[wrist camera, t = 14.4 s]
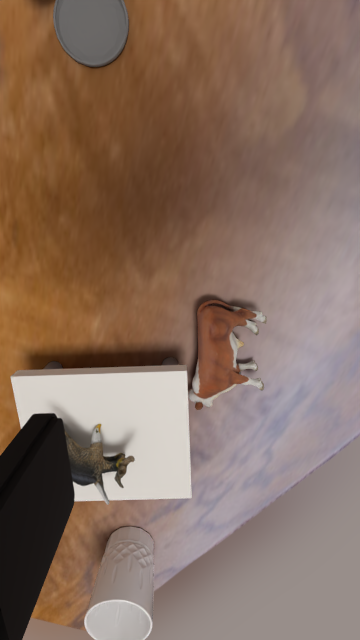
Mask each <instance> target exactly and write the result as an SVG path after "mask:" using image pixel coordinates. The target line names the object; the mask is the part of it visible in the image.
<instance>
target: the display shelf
mask: <svg viewBox="0 0 360 640" xmlns="http://www.w3.org/2000/svg"><path fill="white" fill-rule="evenodd" d="M11 381H12V386H13V391H14V396H15V401H16V406H17V411H18V416H19V421H20V426H21V429H22V427H23V426H24V425H25V424H26V422H27V421H28V420H29V418H30V417H31V416H32V415H33V414H39V413H55V414H56V416H57V418H61V419H62V420H63V424H64V429H65V430H66V432H67V433H68V435H69V436H70V437H71V438H72V439H73V440H74V441H75V442H76V443H77V444H78V445H79V446H81V447H84V448H88V447H90V444H91V439H92V434H93V432H94V430H95V428H96V427H97V425H98V424H101V428H100V434H101V441H102V444H103V456H105V457H107V456H109V457H111V456H115V455H117V454H119V453H123V454H125V458H127V457H128V456H133V457H134V458H135V461H134V462H130V463H129V464H128V466H127V471H126V474H125V475H124V476H123V477H122V478H121V483H122V485H123V487H124V488H121V487H120V486H119V485H118V484H117V482H116V481H115V479H114V478H115V475H116V473H117V472H107V473H102V477H103V485H104V490H105V492H106V495H107V497H108V500H140V499H178V498H192V497H191V469H190V441H189V413H188V385H187V365H178V361H177V360H176V359H175V358H172V357H168V358H166V359H164V360H163V362H162V366H133V367H103V368H73V369H63V367H62V365H61V364H60V363H59V362H56V361H52V362H49V363H48V364H47V365H46V366H45V367H44V369H43V370H17V371H16V372H15V373H14V374H13V375H12V376H11ZM73 486H74V492H75V499H74V501H102V500H104V499H103V497H102V495H101V494H100V492H99V490H98V489H97V487H96V486H95V485H94V483H93V484H90V485H87V486H81V485H78V484H76V483H74V482H73Z"/></svg>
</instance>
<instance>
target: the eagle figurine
mask: <svg viewBox="0 0 360 640" xmlns="http://www.w3.org/2000/svg"><path fill="white" fill-rule="evenodd" d="M100 428H101V424H98V425H97V427H96V428H95V430H94V432H93V434H92V439H91V444H90V447H88V448H84V447H81V446H79V445H78V444H77V443H76V442H75V441H74V440H73V439H72V438H71V437H70V436H69V435H68V433H67V432H66V430H65V429H64V430H65V436H66V442H67V449H68V455H69V461H70V467H71V473H72V480H73V482H74V483H76V484H78V485H81V486H87V485H90V484H93V483H94V485H95V486H96V487H97V489H98V490H99V492H100V494H101V495H102V497H103V499H104V501H105V502H106V504H109V500H108V497H107V495H106V492H105V490H104V485H103V477H102V473H107V472H117V473H116V475H115V478H114V479H115V481H116V482H117V484H118V485H119V486H120V487H121V488H124V487H123V485H122V483H121V478H122V477H123V476H124V475H125V474H126V471H127V466H128V464H129V463H130V462H134V461H135V458H134V457H133V456H128V457H127V458H125V454H123V453H119V454H117V455H115V456H111V457H109V456H107V457H105V456H103V444H102V441H101V434H100Z"/></svg>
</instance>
